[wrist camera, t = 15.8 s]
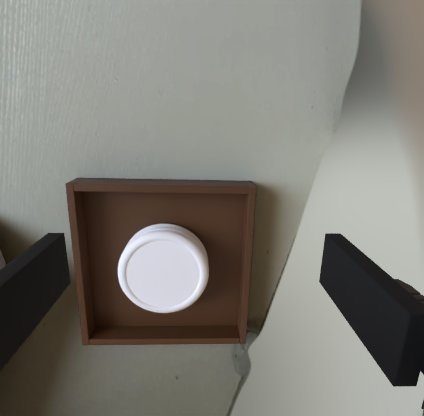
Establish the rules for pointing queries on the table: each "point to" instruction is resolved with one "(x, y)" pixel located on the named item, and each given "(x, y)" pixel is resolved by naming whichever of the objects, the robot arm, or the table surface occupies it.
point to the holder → (150, 215)
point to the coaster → (163, 268)
